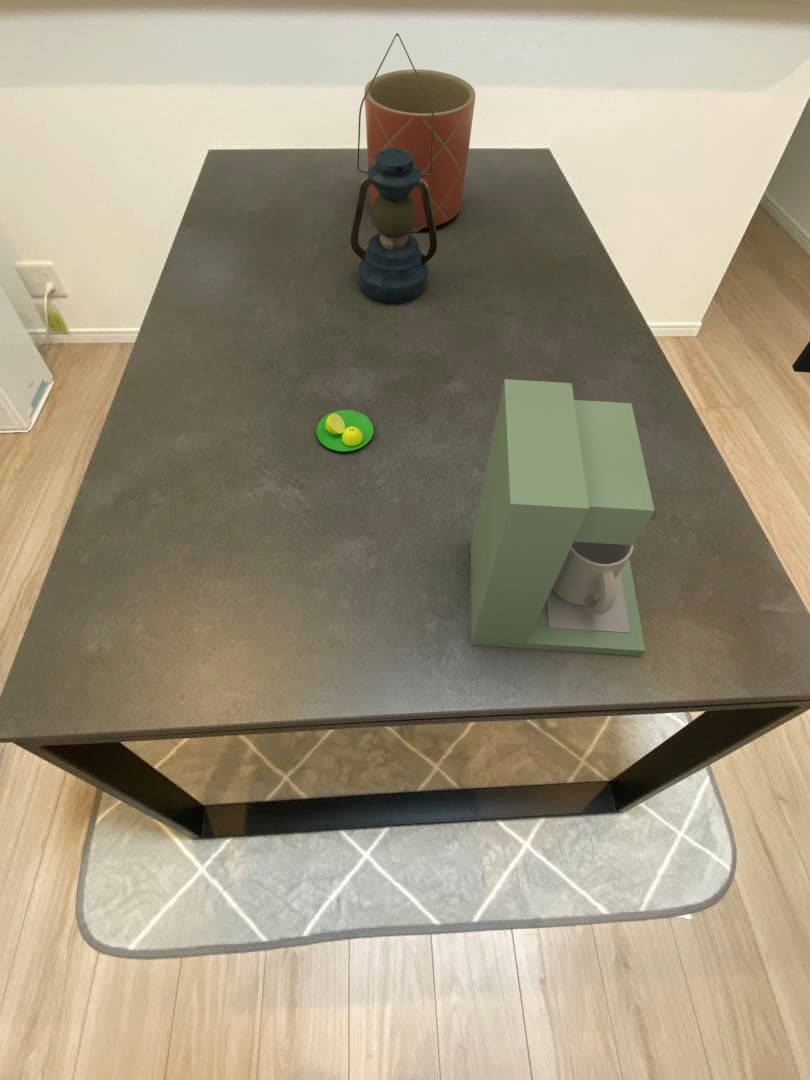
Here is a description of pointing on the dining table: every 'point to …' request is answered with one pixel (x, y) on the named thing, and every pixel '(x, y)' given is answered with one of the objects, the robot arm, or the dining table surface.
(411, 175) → the lantern
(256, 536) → the dining table surface
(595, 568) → the cup
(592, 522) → the coffee maker
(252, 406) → the dining table surface
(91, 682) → the dining table surface
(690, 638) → the dining table surface
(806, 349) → the robot arm
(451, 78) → the planter
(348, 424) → the plate with lemons
